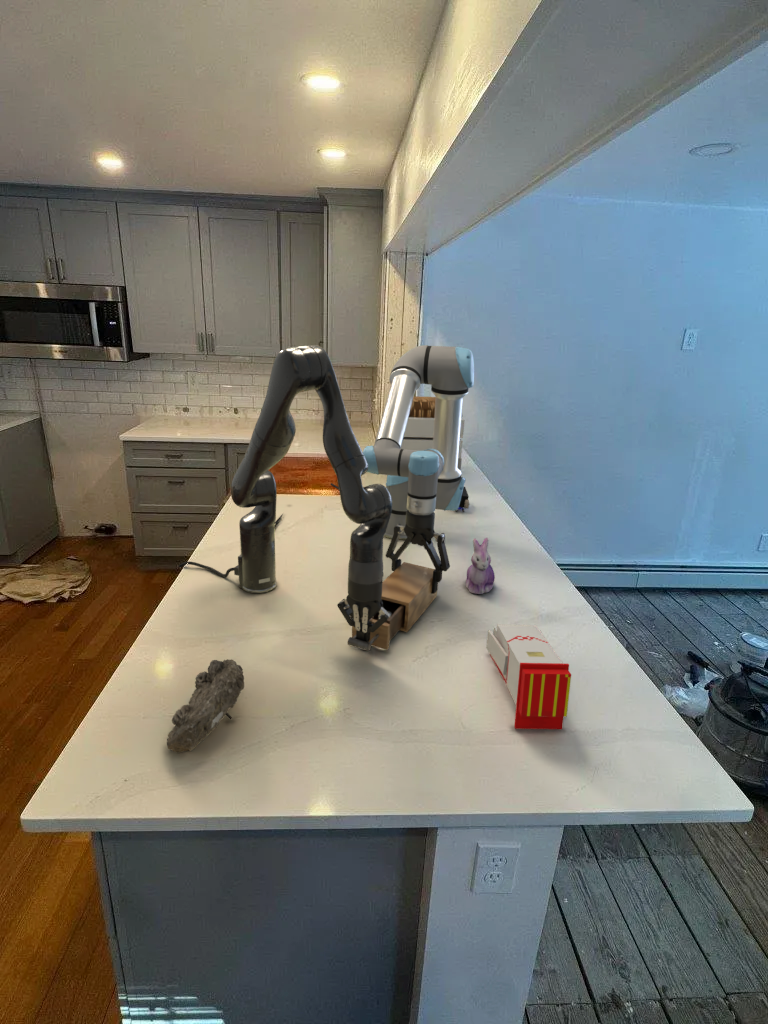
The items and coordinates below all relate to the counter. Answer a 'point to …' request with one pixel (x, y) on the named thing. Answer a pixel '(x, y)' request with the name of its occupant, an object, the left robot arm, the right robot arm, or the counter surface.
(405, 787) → the counter surface
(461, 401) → the right robot arm
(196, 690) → the fossil
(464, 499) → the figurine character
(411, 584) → the cabinet
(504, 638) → the toy
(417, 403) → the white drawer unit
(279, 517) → the feather
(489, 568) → the figurine
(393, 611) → the drawer
